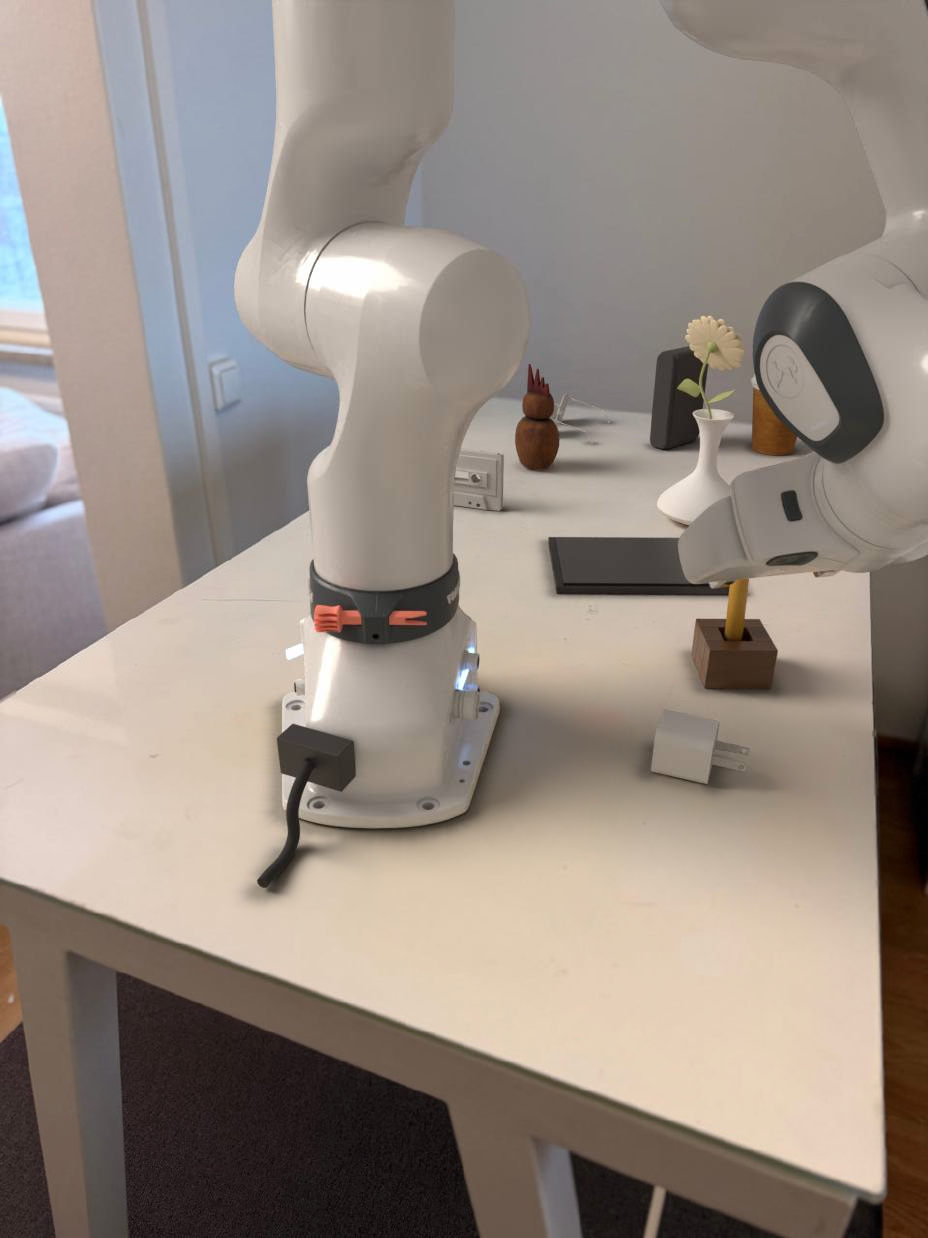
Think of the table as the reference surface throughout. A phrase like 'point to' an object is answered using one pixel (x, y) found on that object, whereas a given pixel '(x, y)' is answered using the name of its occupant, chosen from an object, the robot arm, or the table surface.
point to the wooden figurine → (537, 426)
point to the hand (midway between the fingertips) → (768, 573)
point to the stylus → (736, 610)
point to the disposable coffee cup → (768, 428)
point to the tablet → (621, 566)
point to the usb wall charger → (690, 747)
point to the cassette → (480, 491)
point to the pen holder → (733, 655)
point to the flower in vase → (705, 423)
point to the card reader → (675, 398)
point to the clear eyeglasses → (562, 410)
